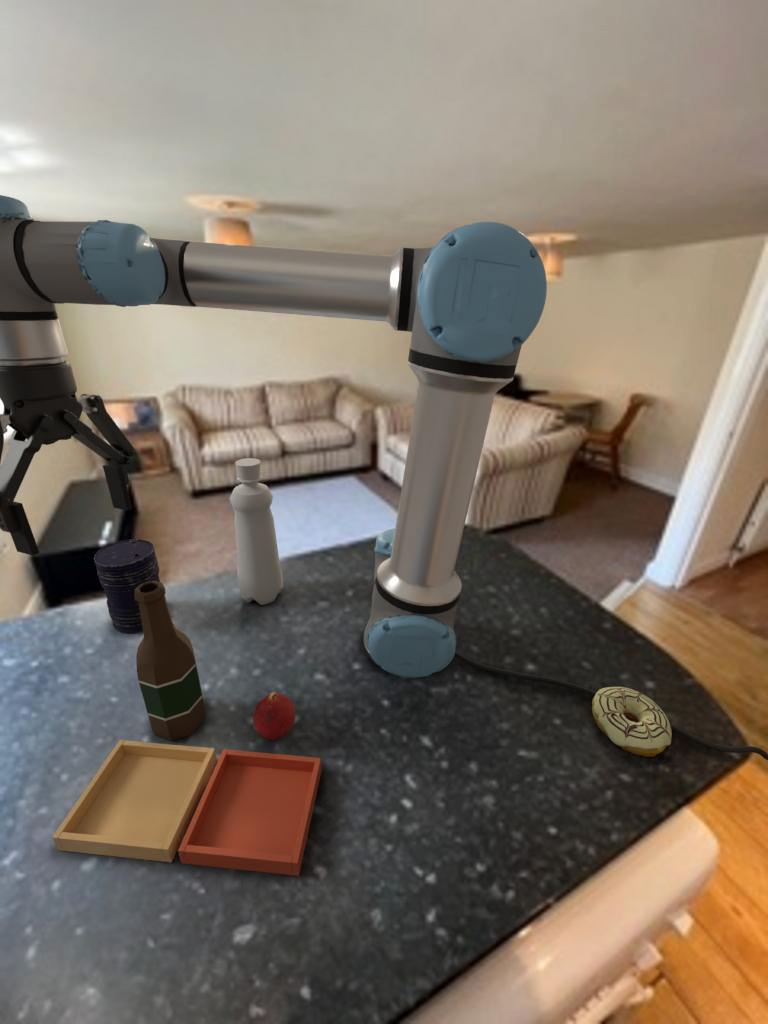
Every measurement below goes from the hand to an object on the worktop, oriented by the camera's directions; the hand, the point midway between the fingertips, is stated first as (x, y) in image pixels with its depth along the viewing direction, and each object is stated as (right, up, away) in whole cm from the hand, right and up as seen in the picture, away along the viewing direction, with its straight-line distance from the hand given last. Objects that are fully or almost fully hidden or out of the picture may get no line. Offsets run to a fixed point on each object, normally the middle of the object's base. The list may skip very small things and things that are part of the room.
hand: (80, 528), depth 59 cm
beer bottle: (+10, -29, +8) cm, 32 cm away
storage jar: (-7, -19, +29) cm, 35 cm away
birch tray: (+10, -34, -3) cm, 36 cm away
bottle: (+14, -16, +36) cm, 42 cm away
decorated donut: (+77, -31, +9) cm, 84 cm away
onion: (+25, -31, +6) cm, 40 cm away
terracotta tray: (+25, -35, -4) cm, 43 cm away
